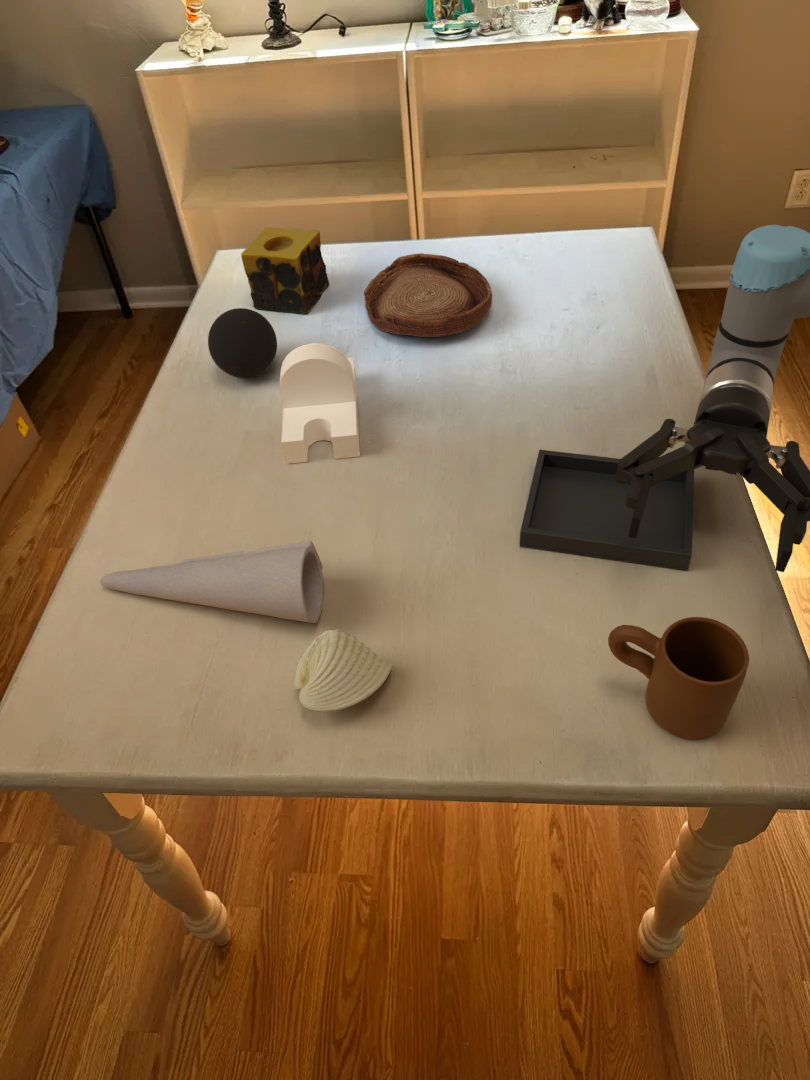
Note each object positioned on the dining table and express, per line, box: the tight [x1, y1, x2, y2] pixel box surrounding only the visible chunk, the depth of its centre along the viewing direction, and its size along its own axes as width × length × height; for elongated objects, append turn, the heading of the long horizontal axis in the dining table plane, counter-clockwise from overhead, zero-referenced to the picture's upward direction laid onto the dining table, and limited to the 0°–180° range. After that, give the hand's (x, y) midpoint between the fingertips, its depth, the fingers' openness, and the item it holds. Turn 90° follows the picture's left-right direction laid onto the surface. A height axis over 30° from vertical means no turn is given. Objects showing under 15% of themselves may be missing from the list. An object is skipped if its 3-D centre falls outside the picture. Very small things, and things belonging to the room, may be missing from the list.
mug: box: [607, 616, 750, 740], centre depth 72 cm, size 12×8×9 cm, turn 64°
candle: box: [240, 227, 330, 315], centre depth 130 cm, size 10×10×10 cm
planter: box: [100, 540, 324, 624], centre depth 86 cm, size 8×9×26 cm
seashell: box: [293, 628, 393, 713], centre depth 77 cm, size 8×8×8 cm
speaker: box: [207, 307, 278, 379], centre depth 116 cm, size 10×10×10 cm
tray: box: [519, 449, 695, 572], centre depth 92 cm, size 15×19×3 cm
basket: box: [363, 253, 493, 338], centre depth 126 cm, size 22×20×5 cm
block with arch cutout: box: [279, 342, 361, 465], centre depth 106 cm, size 18×10×11 cm, turn 4°
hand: (706, 545), depth 74 cm, fingers open, 13 cm apart
